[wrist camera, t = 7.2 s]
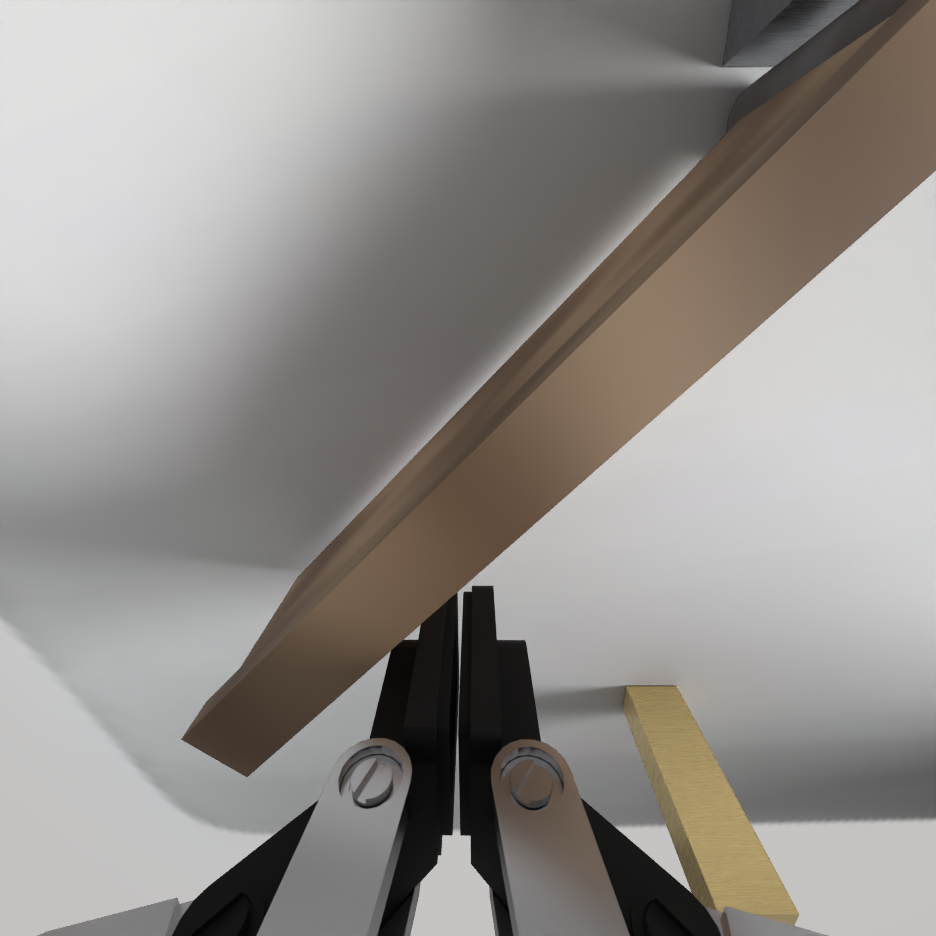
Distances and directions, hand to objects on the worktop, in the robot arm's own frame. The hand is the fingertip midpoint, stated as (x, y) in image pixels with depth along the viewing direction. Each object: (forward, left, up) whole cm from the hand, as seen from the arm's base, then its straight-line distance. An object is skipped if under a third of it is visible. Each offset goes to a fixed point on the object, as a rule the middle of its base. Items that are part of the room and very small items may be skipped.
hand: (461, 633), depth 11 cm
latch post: (-7, +7, -4) cm, 11 cm away
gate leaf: (-1, -6, -4) cm, 7 cm away
